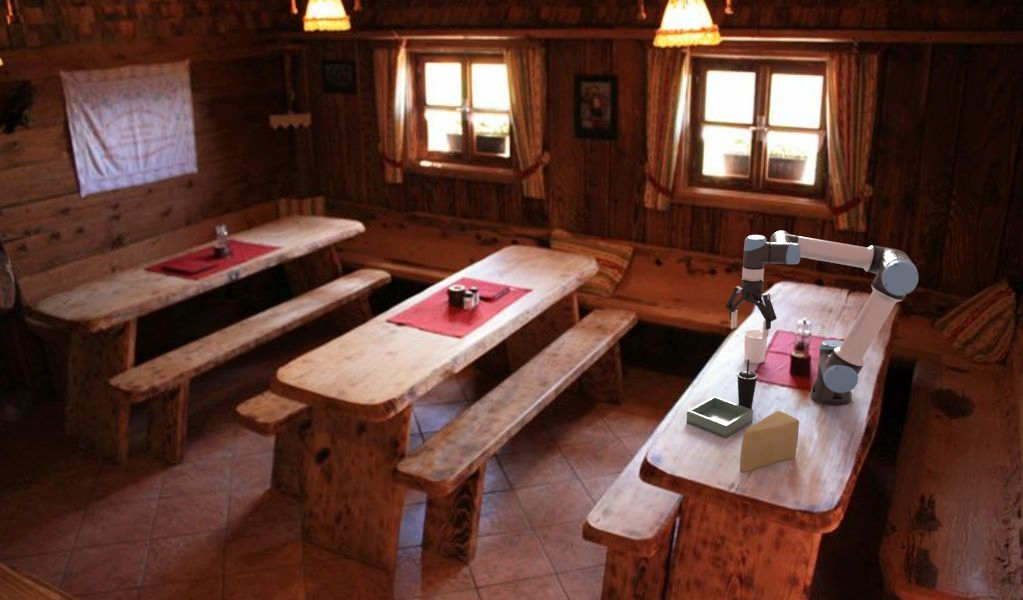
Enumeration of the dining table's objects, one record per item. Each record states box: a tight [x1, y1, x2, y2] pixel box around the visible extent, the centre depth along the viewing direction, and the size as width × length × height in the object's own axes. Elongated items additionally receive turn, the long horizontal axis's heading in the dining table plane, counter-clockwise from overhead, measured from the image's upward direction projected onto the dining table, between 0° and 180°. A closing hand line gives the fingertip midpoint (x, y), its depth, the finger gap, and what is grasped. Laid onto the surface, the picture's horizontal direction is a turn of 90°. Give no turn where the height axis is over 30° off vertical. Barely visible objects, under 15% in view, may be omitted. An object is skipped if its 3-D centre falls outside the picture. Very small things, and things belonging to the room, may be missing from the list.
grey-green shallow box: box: [686, 395, 754, 439], centre depth 326 cm, size 17×17×5 cm
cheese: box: [739, 410, 800, 473], centre depth 297 cm, size 22×10×15 cm, turn 123°
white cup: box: [744, 329, 768, 364], centre depth 377 cm, size 10×10×12 cm
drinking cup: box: [736, 359, 759, 410], centre depth 334 cm, size 8×8×20 cm
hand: (749, 332), depth 328 cm, fingers open, 13 cm apart
